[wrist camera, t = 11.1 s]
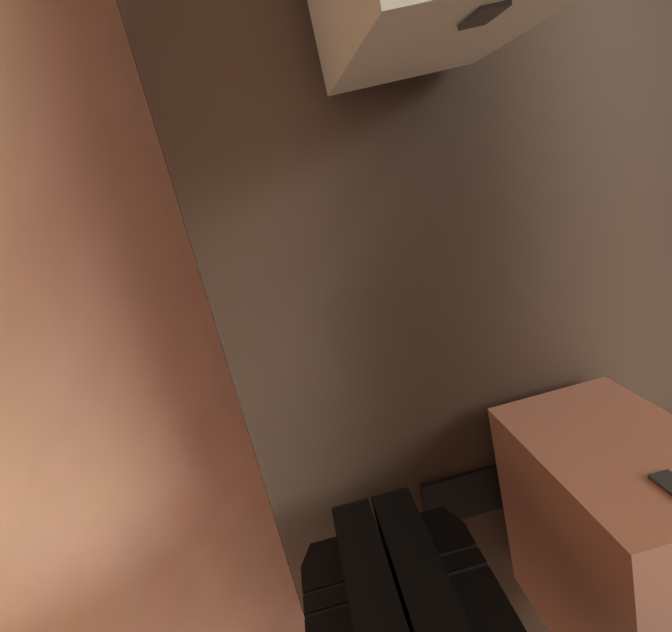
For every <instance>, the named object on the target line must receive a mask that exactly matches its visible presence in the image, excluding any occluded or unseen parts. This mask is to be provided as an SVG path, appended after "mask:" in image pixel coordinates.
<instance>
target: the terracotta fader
mask: <svg viewBox="0 0 672 632" xmlns="http://www.w3.org/2000/svg"><path fill="white" fill-rule="evenodd" d="M488 415H489V422H490V428H491V434H492V440H493V447H494V453H495V459H496V466H497V472H498V478H499V484H500V491H501V497H502V503H503V509H504V516H505V522H506V528H507V534H508V541H509V547H510V553H511V559H512V566H513V572H514V577H515V579H516V580H517V582H518V584H519V585H520V587H521V588H522V590H523V592H524V593H525V595H526V596H527V598H528V600H529V601H530V603H531V604H532V606H533V608H534V609H535V611H536V612H537V614H538V616H539V617H540V619H541V620H542V622H543V624H544V625H545V627H546V628H547V630H548V632H672V414H670V413H669V412H667V411H665V410H663V409H662V408H660V407H658V406H656V405H655V404H653V403H651V402H649V401H647V400H646V399H644V398H642V397H640V396H639V395H637V394H635V393H633V392H632V391H630V390H628V389H626V388H624V387H623V386H621V385H619V384H617V383H616V382H614V381H612V380H610V379H609V378H607V377H602V378H598V379H594V380H591V381H587V382H583V383H580V384H576V385H572V386H569V387H565V388H561V389H558V390H554V391H550V392H547V393H543V394H539V395H536V396H532V397H528V398H525V399H521V400H517V401H514V402H510V403H506V404H503V405H499V406H495V407H492V408H488Z"/></svg>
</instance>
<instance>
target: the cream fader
mask: <svg viewBox="0 0 672 632" xmlns="http://www.w3.org/2000/svg"><path fill="white" fill-rule="evenodd" d="M575 1H577V0H307V3H308V7H309V12H310V16H311V21H312V26H313V30H314V35H315V40H316V44H317V49H318V54H319V58H320V63H321V68H322V72H323V77H324V82H325V86H326V91H327V96H332V95H337V94H341V93H345V92H350V91H354V90H359V89H363V88H367V87H372V86H376V85H381V84H385V83H390V82H394V81H398V80H403V79H407V78H412V77H416V76H420V75H425V74H429V73H434V72H438V71H443V70H447V69H451V68H456V67H460V66H465V65H469V64H473V63H475V62H477V61H478V60H480V59H482V58H483V57H485V56H487V55H488V54H490V53H491V52H493V51H495V50H496V49H498V48H500V47H501V46H503V45H505V44H506V43H508V42H510V41H511V40H513V39H514V38H516V37H518V36H519V35H521V34H523V33H524V32H526V31H528V30H529V29H531V28H533V27H534V26H536V25H538V24H539V23H541V22H542V21H544V20H546V19H547V18H549V17H551V16H552V15H554V14H556V13H557V12H559V11H561V10H562V9H564V8H565V7H567V6H569V5H570V4H572V3H574V2H575Z"/></svg>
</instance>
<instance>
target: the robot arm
mask: <svg viewBox="0 0 672 632" xmlns="http://www.w3.org/2000/svg"><path fill="white" fill-rule="evenodd" d="M371 501H372V505H373V510H374V514H375V518H376V522H377V525H376V522H375V518H374V515H373V512H372V509H371V505H370V502H369V499H368V498H365V499H361V500H358V501H354V502H350V503H347V504H343V505H339V506H336V507H332V508H331V509H332V515H333V520H334V526H335V531H336V537H332V538H328V539H325V540H321V541H318V542H314V543H310V545H309V548H308V550H307V553H306V555H305V558H304V560H303V563H302V565H301V580H302V592H303V606H304V615H305V632H527V631H526V629H525V627H524V626H523V624H522V622H521V620H520V619H519V617H518V615H517V613H516V612H515V610H514V608H513V606H512V605H511V603H510V601H509V599H508V598H507V596H506V594H505V592H504V591H503V589H502V587H501V586H500V584H499V582H498V580H497V579H496V577H495V575H494V573H493V572H492V570H491V568H490V566H488V564H487V561H486V559H485V558H484V556H483V554H482V552H481V551H480V549H479V547H477V545H476V542H475V540H474V538H473V537H472V535H471V533H470V531H469V530H468V528H467V526H466V524H465V523H464V521H462V520H461V519H460V518H458V517H457V516H455V515H454V514H453V513H451V512H450V511H448V510H447V509H446V508H444V507H439V508H436V509H432V510H428V511H425V512H421V513H420V512H419V510H418V508H417V506H416V503H415V501H414V499H413V497H412V495H411V492H410V490H409V488H408V487H404V488H401V489H397V490H393V491H390V492H386V493H382V494H379V495H375V496H372V497H371ZM377 526H378V528H377Z"/></svg>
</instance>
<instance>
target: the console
mask: <svg viewBox="0 0 672 632" xmlns="http://www.w3.org/2000/svg"><path fill="white" fill-rule="evenodd" d="M116 1H117V4H118V8H119V11H120V14H121V17H122V21H123V24H124V27H125V31H126V34H127V37H128V40H129V44H130V47H131V50H132V54H133V57H134V60H135V63H136V67H137V70H138V73H139V76H140V80H141V83H142V86H143V90H144V93H145V96H146V99H147V103H148V106H149V109H150V112H151V116H152V119H153V122H154V126H155V129H156V132H157V135H158V139H159V142H160V145H161V148H162V152H163V155H164V158H165V162H166V165H167V168H168V171H169V175H170V178H171V181H172V184H173V188H174V191H175V194H176V198H177V201H178V204H179V207H180V211H181V214H182V217H183V220H184V224H185V227H186V230H187V234H188V237H189V240H190V243H191V247H192V250H193V253H194V256H195V260H196V263H197V266H198V270H199V273H200V276H201V279H202V283H203V286H204V289H205V292H206V296H207V299H208V302H209V306H210V309H211V312H212V315H213V319H214V322H215V325H216V329H217V332H218V335H219V338H220V342H221V345H222V348H223V351H224V355H225V358H226V361H227V365H228V368H229V371H230V374H231V378H232V381H233V384H234V387H235V391H236V394H237V397H238V401H239V404H240V407H241V410H242V414H243V417H244V420H245V423H246V427H247V430H248V433H249V437H250V440H251V443H252V446H253V450H254V453H255V456H256V459H257V463H258V466H259V469H260V473H261V476H262V479H263V482H264V486H265V489H266V492H267V495H268V499H269V502H270V505H271V509H272V512H273V515H274V518H275V522H276V525H277V528H278V531H279V535H280V538H281V541H282V545H283V548H284V551H285V554H286V558H287V561H288V564H289V567H290V571H291V574H292V577H293V581H294V584H295V587H296V590H297V594H298V597H299V600H300V604H301V607H302V610H303V613H304V606H303V592H302V580H301V565H302V563H303V560H304V558H305V555H306V553H307V550H308V548H309V545H310V543H314V542H318V541H321V540H325V539H328V538H332V537H336V531H335V526H334V520H333V515H332V509H331V508H332V507H336V506H339V505H343V504H347V503H350V502H354V501H358V500H361V499H365V498H368V499H369V502H370V505H371V509H372V512H373V515H374V518H375V514H374V510H373V505H372V501H371V497H372V496H375V495H379V494H382V493H386V492H390V491H393V490H397V489H401V488H404V487H408V488H409V490H410V492H411V495H412V497H413V499H414V501H415V503H416V506H417V508H418V510H419V512H420V513H421V512H425V511H428V510H432V509H436V508H439V507H444V508H446V509H447V510H448V511H450V512H451V513H453V514H454V515H455V516H457V517H458V518H460V519H461V520H462V521H464V523H465V524H466V526H467V528H468V530H469V531H470V533H471V535H472V537H473V538H474V540H475V542H476V545H477V547H479V549H480V551H481V552H482V554H483V556H484V558H485V559H486V561H487V564H488V566H490V568H491V570H492V572H493V573H494V575H495V577H496V579H497V580H498V582H499V584H500V586H501V587H502V589H503V591H504V592H505V594H506V596H507V598H508V599H509V601H510V603H511V605H512V606H513V608H514V610H515V612H516V613H517V615H518V617H519V619H520V620H521V622H522V624H523V626H524V627H525V629H526V631H527V632H548V630H547V628H546V627H545V625H544V624H543V622H542V620H541V619H540V617H539V616H538V614H537V612H536V611H535V609H534V608H533V606H532V604H531V603H530V601H529V600H528V598H527V596H526V595H525V593H524V592H523V590H522V588H521V587H520V585H519V584H518V582H517V580H516V579H515V577H514V572H513V566H512V559H511V553H510V547H509V541H508V534H507V528H506V522H505V516H504V509H503V503H502V497H501V491H500V484H499V478H498V472H497V466H496V459H495V453H494V447H493V440H492V434H491V428H490V422H489V415H488V408H492V407H495V406H499V405H503V404H506V403H510V402H514V401H517V400H521V399H525V398H528V397H532V396H536V395H539V394H543V393H547V392H550V391H554V390H558V389H561V388H565V387H569V386H572V385H576V384H580V383H583V382H587V381H591V380H594V379H598V378H602V377H607V378H609V379H610V380H612V381H614V382H616V383H617V384H619V385H621V386H623V387H624V388H626V389H628V390H630V391H632V392H633V393H635V394H637V395H639V396H640V397H642V398H644V399H646V400H647V401H649V402H651V403H653V404H655V405H656V406H658V407H660V408H662V409H663V410H665V411H667V412H669V413H670V414H672V0H577V1H575V2H574V3H572V4H570V5H569V6H567V7H565V8H564V9H562V10H561V11H559V12H557V13H556V14H554V15H552V16H551V17H549V18H547V19H546V20H544V21H542V22H541V23H539V24H538V25H536V26H534V27H533V28H531V29H529V30H528V31H526V32H524V33H523V34H521V35H519V36H518V37H516V38H514V39H513V40H511V41H510V42H508V43H506V44H505V45H503V46H501V47H500V48H498V49H496V50H495V51H493V52H491V53H490V54H488V55H487V56H485V57H483V58H482V59H480V60H478V61H477V62H475V63H473V64H469V65H465V66H460V67H456V68H451V69H447V70H443V71H438V72H434V73H429V74H425V75H420V76H416V77H412V78H407V79H403V80H398V81H394V82H390V83H385V84H381V85H376V86H372V87H367V88H363V89H359V90H354V91H350V92H345V93H341V94H337V95H332V96H327V91H326V86H325V82H324V77H323V72H322V68H321V63H320V58H319V54H318V49H317V44H316V40H315V35H314V30H313V26H312V21H311V16H310V12H309V7H308V3H307V0H116ZM375 522H376V518H375ZM376 525H377V522H376ZM377 528H378V526H377ZM304 617H305V615H304Z"/></svg>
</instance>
